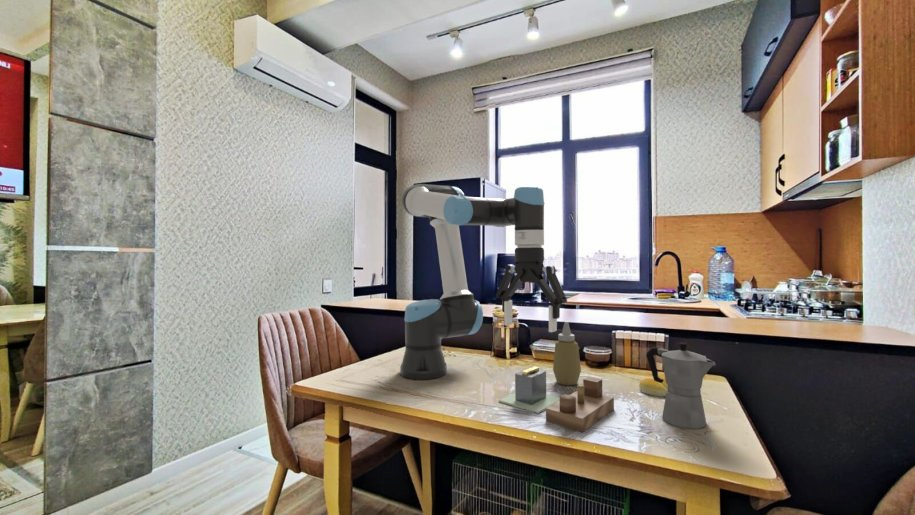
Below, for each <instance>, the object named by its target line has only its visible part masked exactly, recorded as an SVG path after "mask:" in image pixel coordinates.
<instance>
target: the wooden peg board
mask: <svg viewBox="0 0 915 515" xmlns="http://www.w3.org/2000/svg"><path fill="white" fill-rule="evenodd" d="M582 379H583V378H582ZM582 382H583V383H582V384H576V385H577V387H576V388H577V390H576V391H574V392H572V393H571V394H561V395H559V397H560V401H558V402H556V403H554V404H552V405H551V406H549V407H547V408H546V410H545V422H548V423H552V424H554V425H556V426H560V427H563V428H567V429H571V430H574V431H577V432H580V433H584V432H585V431H586V430H588V429H589V428H591V427H592V426H594V425H595V424H596V423H598V422H599V421H600V420H602V419H603V418H604V417H605V416H607V415H608V414H610V413H611V412H612V411H614V410H615V397H614V396H610V395H605V394H603V379H602V378H597V377H592V376H587V377H585V378H584V379H583V381H582Z"/></svg>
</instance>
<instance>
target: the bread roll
mask: <svg viewBox="0 0 915 515" xmlns="http://www.w3.org/2000/svg"><path fill="white" fill-rule="evenodd" d="M658 377H659V378H660V379H663V382H662V383H659V382H656V381H655V380H654V378H653V377H652V378H651V377H646V378H643V379H642V380H641V381H640V382H639V383H638V384H639V385H638V386H639V389H640V391H641V392H642V393H643V394H646V395H650V396H655V397H666V392H667V386H668V384H667V383H666V380H665V376H658Z"/></svg>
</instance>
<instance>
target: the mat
mask: <svg viewBox="0 0 915 515" xmlns="http://www.w3.org/2000/svg"><path fill="white" fill-rule="evenodd" d="M558 401H560V396H557V395H551V394H548V393H546V398H545V399H543V400H541V401H539V402H537V403H535V404H533V405H530V404H526V403H523V402H519V401H516V400H515V392H513V393H511V394H508V395H506V396H504V397H502V398H500V399H498V402H499V403H502V404H505V405H508V406H511V407H515V408H517V409H521V410H524V409H526V410H525V411H528V410H529V411H528V412H531V411H532V413H534V412H536V413H535V414H538V413H539V414H541V413H543V412H544V410H545V411H546V408H547V407H549V406H551V405H552V404H554V403H556V402H558ZM542 411H543V412H542ZM540 412H541V413H540Z"/></svg>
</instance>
